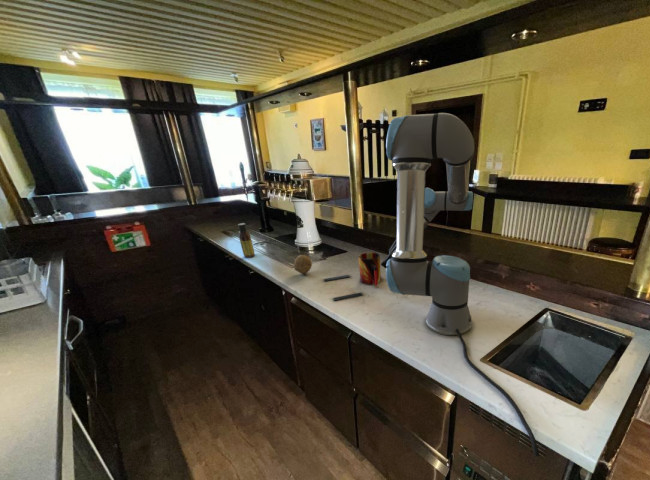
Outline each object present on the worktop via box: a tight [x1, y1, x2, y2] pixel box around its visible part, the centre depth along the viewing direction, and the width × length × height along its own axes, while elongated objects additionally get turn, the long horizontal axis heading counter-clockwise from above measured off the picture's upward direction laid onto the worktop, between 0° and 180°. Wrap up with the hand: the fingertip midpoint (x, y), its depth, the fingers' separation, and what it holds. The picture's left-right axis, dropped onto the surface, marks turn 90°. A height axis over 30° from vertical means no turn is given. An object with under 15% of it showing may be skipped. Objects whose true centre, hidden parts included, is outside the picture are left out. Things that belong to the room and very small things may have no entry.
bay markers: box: [323, 274, 363, 302], centre depth 136 cm, size 24×12×1 cm, turn 20°
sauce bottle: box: [237, 222, 256, 258], centre depth 178 cm, size 6×6×20 cm
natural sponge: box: [293, 254, 313, 275], centre depth 150 cm, size 9×9×10 cm
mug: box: [357, 252, 382, 287], centre depth 137 cm, size 10×14×12 cm
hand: (383, 266), depth 139 cm, fingers closed
